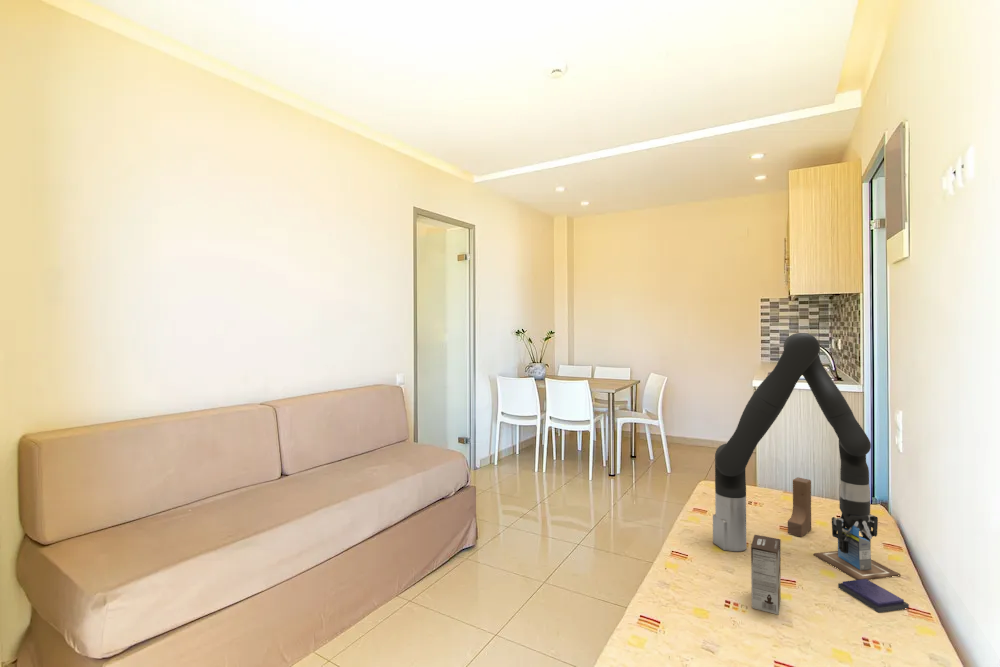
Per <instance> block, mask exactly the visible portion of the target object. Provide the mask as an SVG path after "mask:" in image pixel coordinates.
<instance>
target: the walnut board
mask: <svg viewBox="0 0 1000 667" xmlns="http://www.w3.org/2000/svg"><path fill="white" fill-rule="evenodd" d="M813 556H814V557H816V558H817V557H818V558H817V559H819V560H821V561H822V562H825V563H826V562H827V563H826V564H828V563H829V564H828V565H830V564H831V565H832V566H831V565H830V566H831V567H833V566H834V567H833V568H835V567H836V568H835V569H837V568H838V569H839V570H838V569H837V570H838V571H840V570H841V571H840V572H842V573H844V574H845V573H846V574H845V575H847V576H849V577H851V578H852V579H853V580H861V579H867V580H869V581H871V579H872V580H878V579H887V578H886V577H889V578H893V577H892V576H898V575H900V576H901V573H900V572H899V573H898V572H897V571H895V570H893V569H892V568H889V567H888V566H885V565H883V564H881V563H880V562H877V561H876V560H874V559H872V558H871V568H872V569H869V570H859V569H858V568H856V567H855V566H853V565H851V564H850V563H848V562H846V561H845V560H843V559H841V558H840V557H838V550H833V551H824V552H821V551H820V552H813ZM898 577H899V576H898Z"/></svg>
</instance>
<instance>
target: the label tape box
mask: <svg viewBox="0 0 1000 667" xmlns="http://www.w3.org/2000/svg"><path fill="white" fill-rule="evenodd" d="M845 530H847V531H848V530H849V529H847V528H846V527H845ZM837 534H838V532H837ZM845 534H846V533H844V535H843V536H845ZM861 536H862V535H860V531H859V528H856V527H855V526H853V534H852V535H850V537H849V539H848V553H846V554H845V553H843V552H841V551H840V549H839V539H838V538H837V551H838V557H840V558H841V559H843V560H845V561H846V562H848V563H850V564H851V565H853V566H855V567H856V568H858V569H859V570H869V569H872V568H871V559H872V554H871V553H872V551H871V546H872V545H870V541H868V540H866V539H865V538H863V537H861Z"/></svg>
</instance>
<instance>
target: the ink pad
mask: <svg viewBox="0 0 1000 667" xmlns="http://www.w3.org/2000/svg"><path fill="white" fill-rule="evenodd" d="M837 588H838V589H839V588H840V590H841V591H843V592H844V593H846V594H848V595H849V596H851V597H852V598H854V599H856V600H857V601H859V602H861V603H862V604H864V605H865V606H867V607H869V608H870V609H872V610H874V611H875V612H877V613H879V614H880V613H886V612H887V613H888V612H893V611H903V610H906V609H905V608H910V604H909V603H907V602H906V601H905V600H904V599H903V598H901V597H899V596H898V595H895V594H894V593H892V592H891V591H889V590H887V589H885V588H883V587H882V586H880V585H878V584H876V583H874V582H873V581H871V580H867V579H861V580H856V579H852V580H845V581H842V582H839V583H838V584H837ZM902 609H903V610H902Z"/></svg>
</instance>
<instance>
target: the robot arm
mask: <svg viewBox="0 0 1000 667" xmlns="http://www.w3.org/2000/svg"><path fill="white" fill-rule="evenodd" d="M820 350H821V345H820V342H819V340H818V339H817V338H816V336H814V335H813V334H810V333H805V332H798V333H793V334H791V335H789V336H788V337H787V338H785V340H784V343H783V350H782V354H781V355H780V358H779V360H778V361H777V363H776V365H775V366H774V368H773V370H772V371H771V372H770V373H769V374H768V375H767V376H766V378H764V380H763V381H761V383H760V384H759V385H758V387H757V388H756V390H755V391H754V392H753V394H752V395H751V397H750V399H749V400H748V401H747V403H746V405H745V407H744V409H743V412H742V414H741V416H740V418H739V421H738V423H737V426H736V428H735V431H734V432H733V434H732V435H731V436H730V438H729V439H728V441H727V442H726V443H723V444H721V445H719V446H717V449H716V450H715V453H714V491H715V492H714V494H715V495H714V496H715V497H714V498H715V500H714V501H715V502H714V505H715V507H714V508H715V509H714V510H715V514H712V543H713V544H715V545H716V546H717V547H719V548H720V549H721V550H722V551H730V552H743V551H745V550H747V480H746V477H747V476H746V468H747V466H748V463H749V461H750V459H751V457H752V455H753V453H754V451H755V449H756V447H757V445H758V444H759V442H760V441H761V440H762V439H763V437H764V436H765V435H766V433H767V432H768V431H769V430H770V428H771V427H772V425H773V424H774V423H775V421H776V420H777V419H778V416H779V415H780V414H781V412H782V410H783V409H784V407H785V406H786V403H787V401H788V400H789V398H790V396H791V395H792V394H793V391H794V389H795V388H796V385H797V383H798V381H799V380H800V378H802V377H803V379H804V380H805V381H806V383H807V385H808V387H809V389H810V390H811V393H812V394H813V396H814V398H815V400H816V402H817V404H818V407H819V408H820V409H821V412H822V413H823V415H824V417H825V419H826V420H827V422H828V423H829V425H830V426H831V427H832V428H833V431H834V433H835V434H836V436H837V439H838V451H839V458H840V468H839V469H840V475H839V476H840V477H839V478H840V481H839V482H840V483H839V496H838V497H839V500H838V501H839V510H840V512H841V514H840V515H841V516H840V517H831V532H832V537H834V538H835V539H837V540H838V539H839V549H840V551H841V552H843V553H845V554H846V553H848V539H849V537H850V535H852V534H853V526H855V527H856V528H859V534H861V535H860V536H861V537H863V538H865V539H866V540H868V541H870V545H871V542H872V538H873V537H877V536H878V527H879V526H878V523H879V522H878V521H879V518H878V517H877V516H876V515H873V514H871V488H870V469H869V465H868V462H867V454H868V453H869V452H870V451H871V447H872V445H871V440H870V438H869V437H868V435H867V433H866V432H865V431H864V429H863V428H862V426H861V424H860V423H859V422H858V421H857V419H856V417H855V415H854V412H853V411H852V409H851V407H850V406H849V404H848V402H847V400H846V398H845V397H844V395H843V393H842V392H841V390H840V389H839V387H837V385H836V384H835V382H834V380H832V378H831V377H830V375H829V373H828V372H827V370H826V368H825V367H824V365H823V363H822V361H821V358H820V355H819V354H820V352H821V351H820ZM845 528H847V529H849V530H848V531H847V530H845ZM837 532H838V534H837ZM844 533H846V534H845V536H843V535H844ZM871 546H872V545H871Z"/></svg>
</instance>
